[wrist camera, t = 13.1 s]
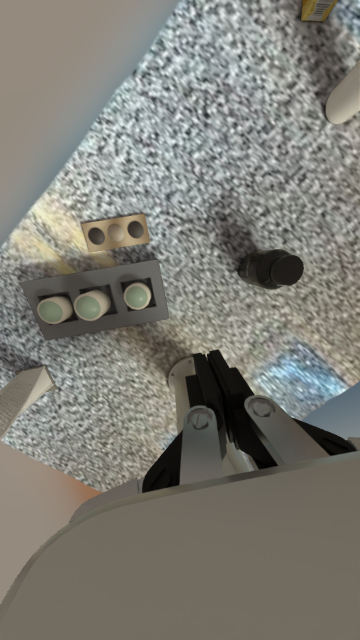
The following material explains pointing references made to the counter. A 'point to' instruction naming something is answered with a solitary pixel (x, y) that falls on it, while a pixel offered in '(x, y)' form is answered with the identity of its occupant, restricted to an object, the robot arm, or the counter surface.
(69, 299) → the button
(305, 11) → the candy box
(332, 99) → the drinking glass
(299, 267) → the supplement bottle
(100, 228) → the pattern card
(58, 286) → the grey flat block
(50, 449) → the counter surface
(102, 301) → the button
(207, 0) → the counter surface
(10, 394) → the skyscraper
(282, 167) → the counter surface
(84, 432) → the counter surface
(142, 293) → the button
